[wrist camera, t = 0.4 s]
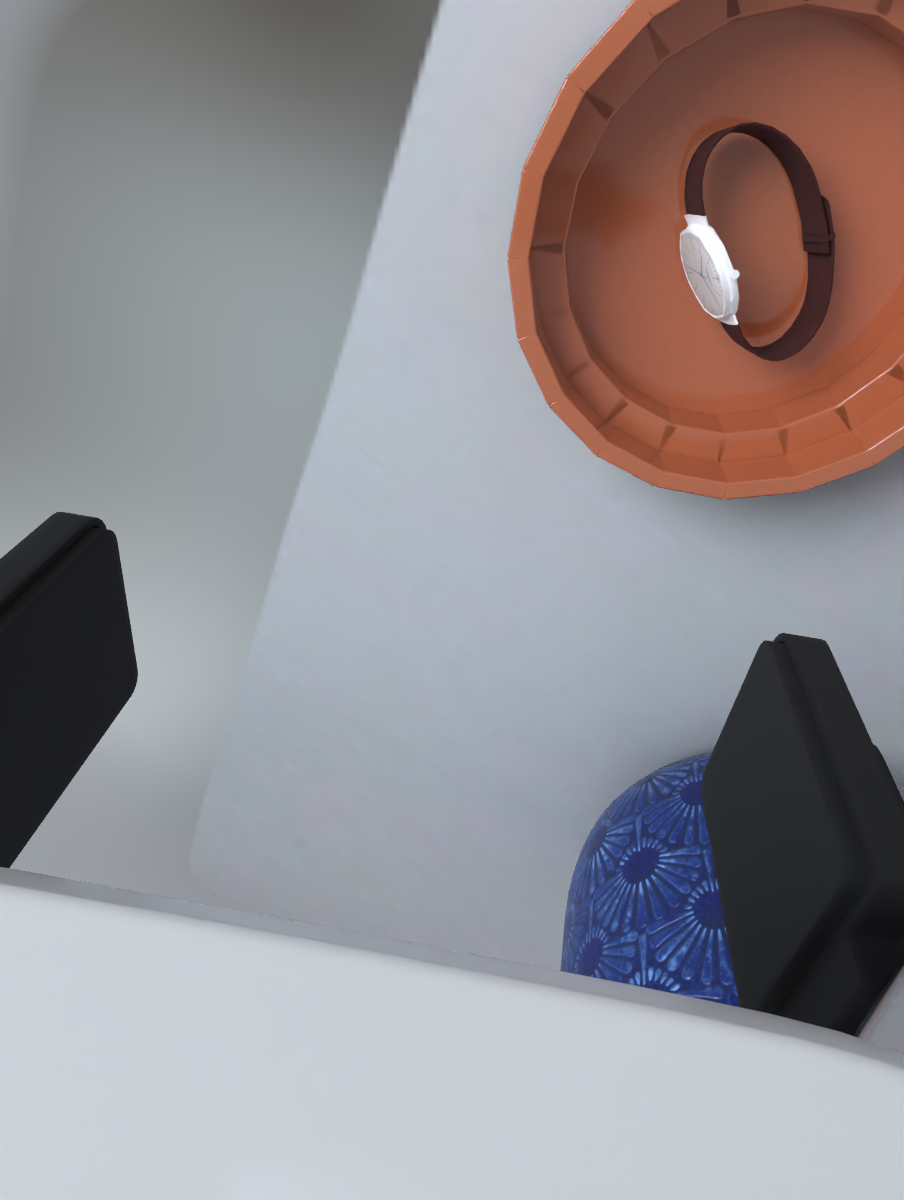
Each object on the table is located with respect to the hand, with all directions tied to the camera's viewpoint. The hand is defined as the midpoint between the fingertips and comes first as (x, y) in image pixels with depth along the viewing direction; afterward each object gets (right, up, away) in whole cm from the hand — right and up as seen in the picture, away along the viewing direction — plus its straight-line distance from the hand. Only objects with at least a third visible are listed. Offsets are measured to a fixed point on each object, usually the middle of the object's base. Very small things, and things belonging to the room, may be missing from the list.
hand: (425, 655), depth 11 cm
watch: (+11, +14, +16) cm, 24 cm away
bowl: (+11, +14, +16) cm, 24 cm away
